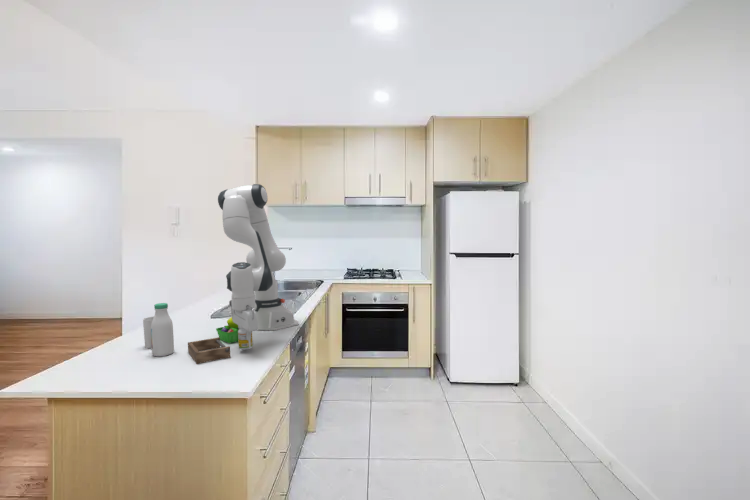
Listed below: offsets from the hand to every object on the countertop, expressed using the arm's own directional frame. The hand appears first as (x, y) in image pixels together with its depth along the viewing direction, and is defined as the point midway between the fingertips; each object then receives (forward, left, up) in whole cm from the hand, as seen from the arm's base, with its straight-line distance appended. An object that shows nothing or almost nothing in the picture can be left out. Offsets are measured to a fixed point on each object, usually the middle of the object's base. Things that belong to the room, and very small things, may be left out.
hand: (245, 337), depth 156 cm
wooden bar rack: (+13, -5, -6) cm, 15 cm away
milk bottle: (+27, -17, -6) cm, 33 cm away
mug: (+28, -32, -6) cm, 43 cm away
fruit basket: (0, -20, -6) cm, 21 cm away
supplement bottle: (0, 0, -4) cm, 4 cm away
